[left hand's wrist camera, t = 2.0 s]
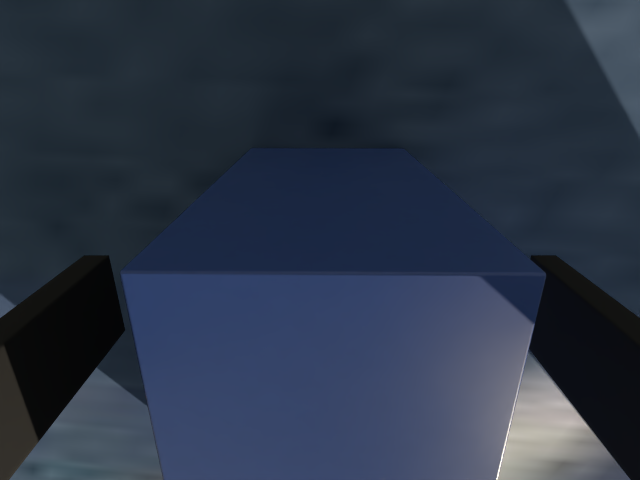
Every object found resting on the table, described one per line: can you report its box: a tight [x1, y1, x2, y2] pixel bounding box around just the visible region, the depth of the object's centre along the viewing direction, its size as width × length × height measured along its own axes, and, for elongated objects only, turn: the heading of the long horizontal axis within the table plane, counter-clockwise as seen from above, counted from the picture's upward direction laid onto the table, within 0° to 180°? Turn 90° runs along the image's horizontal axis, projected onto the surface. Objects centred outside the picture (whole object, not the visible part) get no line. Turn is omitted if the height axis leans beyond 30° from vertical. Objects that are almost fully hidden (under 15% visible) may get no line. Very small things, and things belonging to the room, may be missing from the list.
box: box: [120, 148, 546, 480], centre depth 15 cm, size 21×6×11 cm, turn 0°
